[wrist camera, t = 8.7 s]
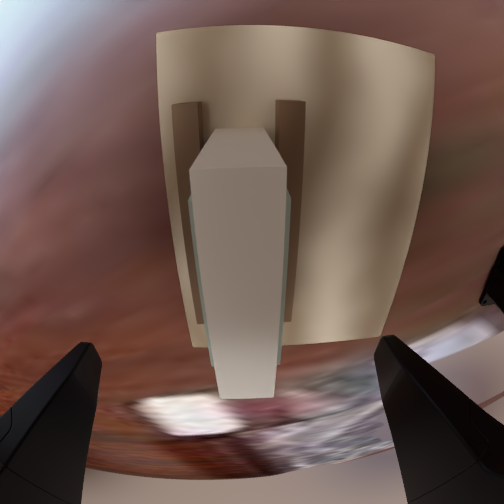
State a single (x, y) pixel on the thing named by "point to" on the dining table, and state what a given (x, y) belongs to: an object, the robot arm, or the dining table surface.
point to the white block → (241, 256)
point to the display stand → (307, 158)
